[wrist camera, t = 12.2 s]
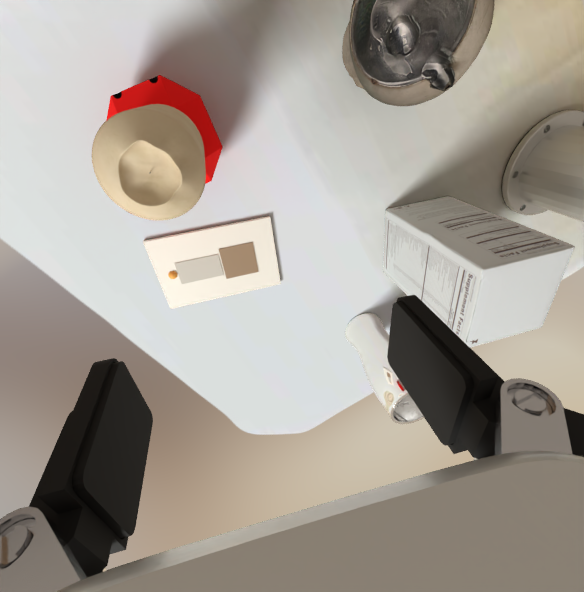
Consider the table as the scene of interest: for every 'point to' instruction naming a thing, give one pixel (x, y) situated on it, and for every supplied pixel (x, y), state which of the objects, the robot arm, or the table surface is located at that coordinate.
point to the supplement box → (473, 267)
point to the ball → (179, 98)
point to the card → (215, 261)
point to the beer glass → (381, 367)
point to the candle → (150, 161)
